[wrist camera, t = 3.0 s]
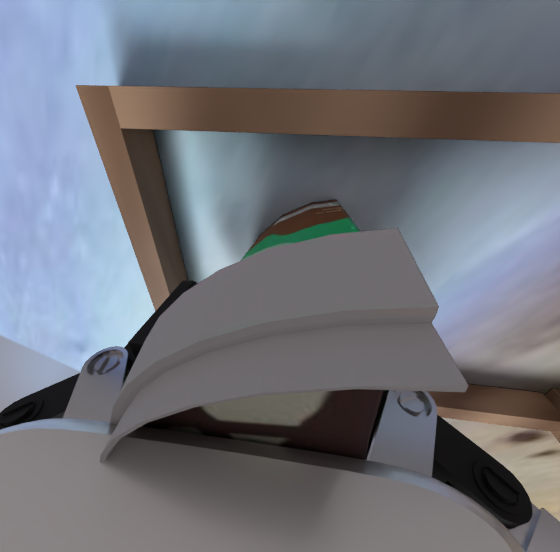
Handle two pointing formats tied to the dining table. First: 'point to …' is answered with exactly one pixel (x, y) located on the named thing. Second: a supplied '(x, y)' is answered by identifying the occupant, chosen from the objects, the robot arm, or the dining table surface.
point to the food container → (292, 341)
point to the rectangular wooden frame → (313, 121)
